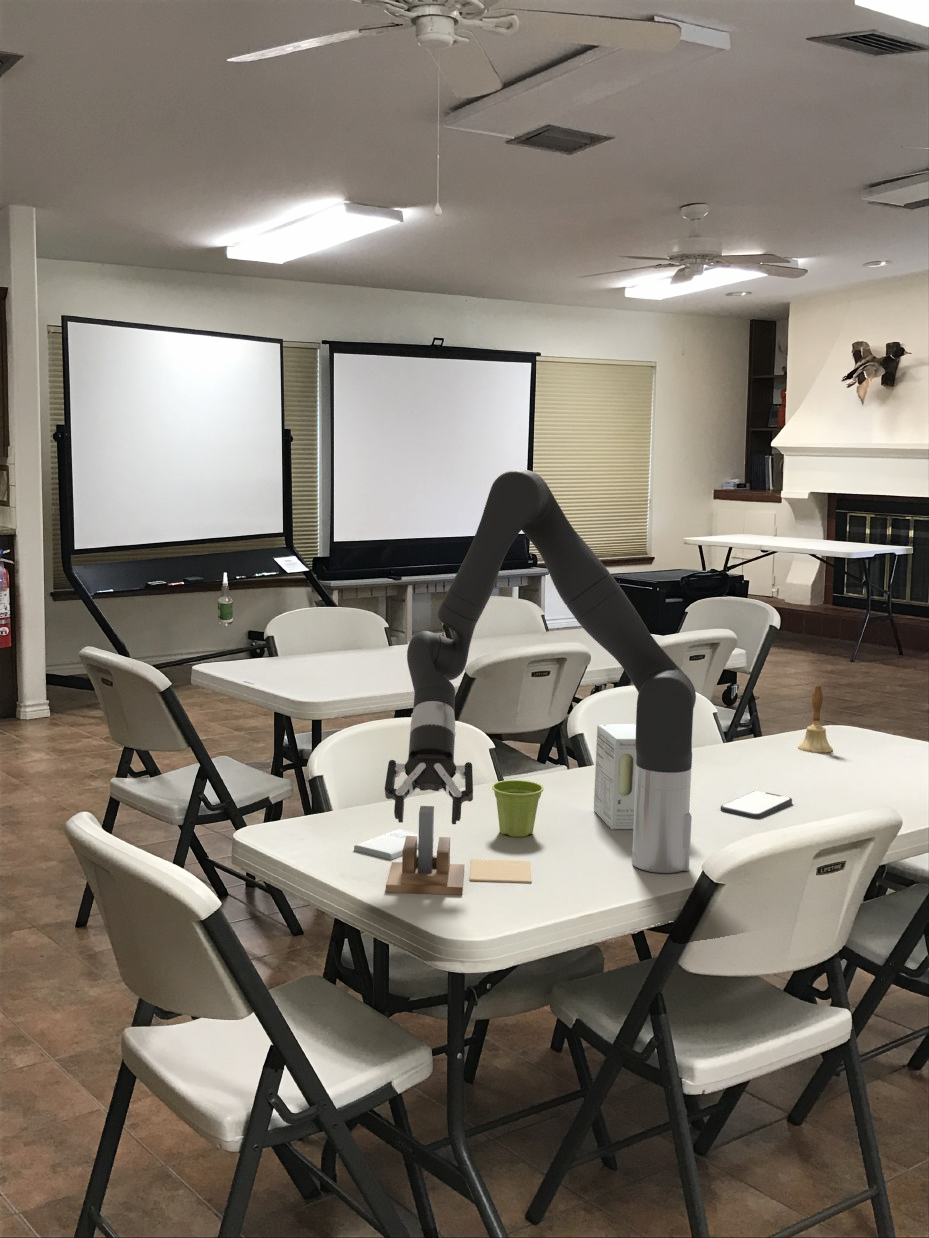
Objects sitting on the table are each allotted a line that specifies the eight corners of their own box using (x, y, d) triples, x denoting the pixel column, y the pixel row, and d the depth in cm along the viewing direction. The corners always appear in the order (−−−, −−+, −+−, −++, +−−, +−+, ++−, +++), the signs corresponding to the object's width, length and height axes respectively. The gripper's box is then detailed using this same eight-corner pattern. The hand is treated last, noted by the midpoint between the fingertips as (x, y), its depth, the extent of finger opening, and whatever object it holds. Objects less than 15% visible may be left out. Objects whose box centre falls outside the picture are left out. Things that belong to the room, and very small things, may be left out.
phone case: (758, 823, 231) (794, 805, 243) (758, 815, 231) (794, 797, 243) (717, 813, 237) (754, 797, 249) (717, 805, 237) (755, 789, 249)
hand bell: (799, 751, 290) (803, 687, 288) (796, 744, 298) (799, 681, 296) (835, 754, 289) (839, 689, 287) (830, 746, 297) (834, 683, 295)
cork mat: (529, 862, 202) (529, 861, 202) (531, 882, 192) (531, 880, 192) (470, 860, 202) (471, 859, 202) (469, 880, 192) (469, 878, 192)
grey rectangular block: (432, 868, 194) (434, 806, 193) (431, 877, 190) (432, 813, 189) (419, 868, 194) (420, 805, 193) (417, 876, 190) (419, 812, 189)
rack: (464, 871, 197) (465, 834, 196) (462, 894, 186) (463, 856, 185) (391, 868, 197) (392, 832, 196) (385, 892, 186) (386, 853, 185)
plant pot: (547, 839, 215) (548, 792, 214) (496, 841, 214) (497, 793, 212) (535, 824, 224) (537, 779, 223) (486, 825, 223) (487, 780, 222)
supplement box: (610, 830, 222) (614, 738, 220) (592, 810, 235) (595, 723, 233) (679, 828, 224) (683, 737, 222) (657, 809, 237) (661, 722, 235)
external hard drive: (353, 853, 206) (396, 836, 217) (391, 862, 202) (433, 845, 212) (353, 844, 206) (397, 827, 217) (391, 853, 202) (433, 836, 212)
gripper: (388, 721, 196) (381, 808, 186) (475, 723, 196) (472, 811, 186) (391, 745, 202) (383, 831, 192) (474, 747, 202) (472, 833, 192)
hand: (427, 821), depth 189 cm, fingers open, 8 cm apart
